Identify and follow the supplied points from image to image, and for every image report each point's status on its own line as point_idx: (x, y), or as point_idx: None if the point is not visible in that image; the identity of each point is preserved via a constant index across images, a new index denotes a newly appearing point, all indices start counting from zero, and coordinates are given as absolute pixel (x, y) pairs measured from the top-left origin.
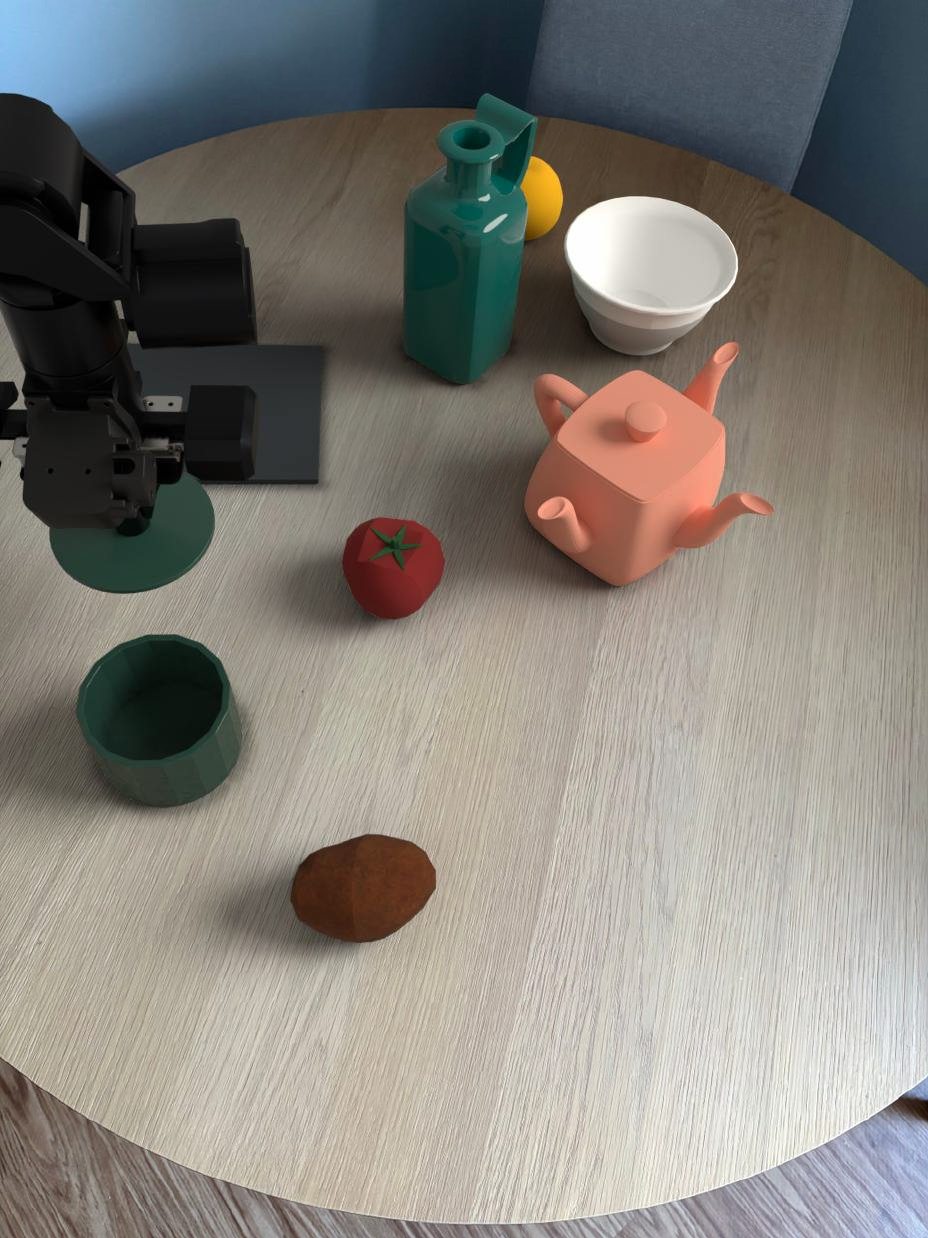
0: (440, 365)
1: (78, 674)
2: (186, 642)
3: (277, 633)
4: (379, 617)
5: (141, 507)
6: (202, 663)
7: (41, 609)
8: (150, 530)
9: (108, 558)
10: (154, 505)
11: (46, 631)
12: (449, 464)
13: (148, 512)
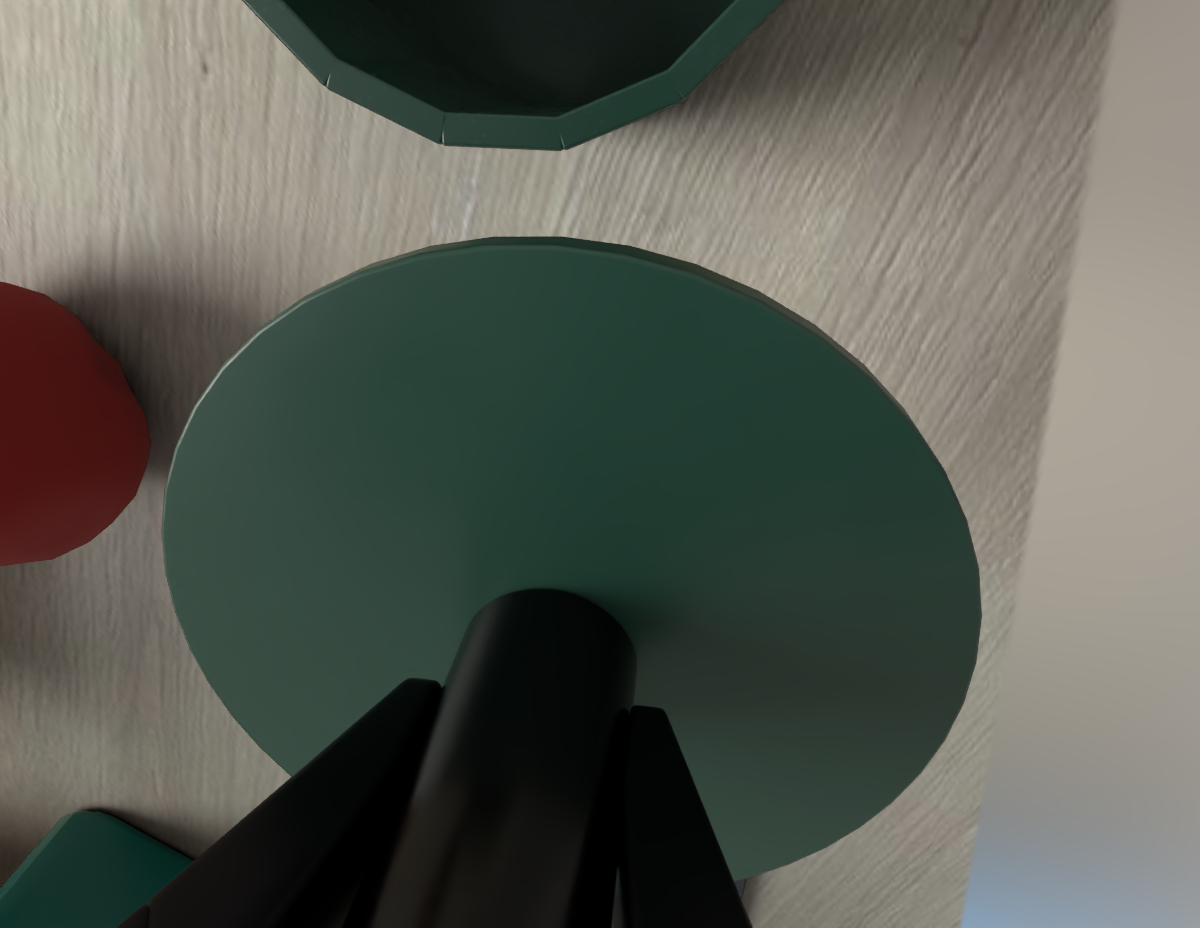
0: (113, 856)
1: (872, 173)
2: (389, 94)
3: (318, 277)
4: (1, 282)
5: (373, 781)
6: (383, 57)
7: (960, 403)
8: (456, 610)
9: (655, 476)
10: (277, 789)
11: (954, 332)
12: (59, 666)
13: (374, 729)
